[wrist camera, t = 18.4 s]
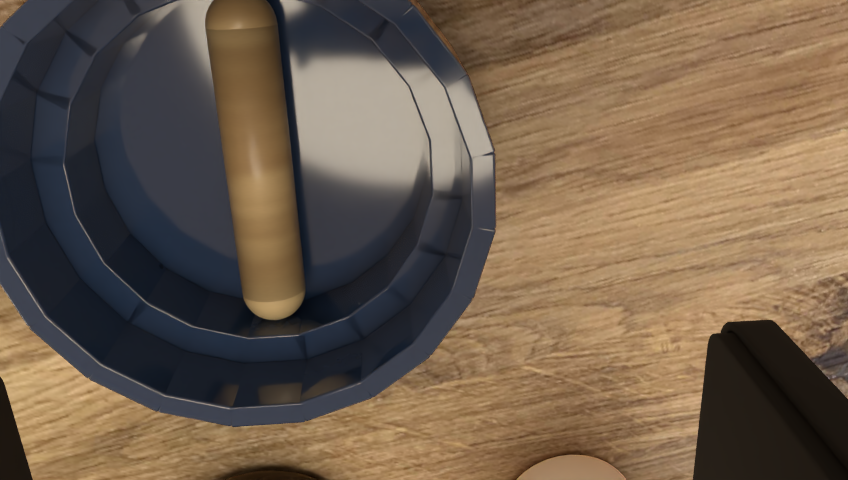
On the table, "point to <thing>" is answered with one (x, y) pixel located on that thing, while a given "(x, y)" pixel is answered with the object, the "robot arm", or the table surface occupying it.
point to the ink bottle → (271, 476)
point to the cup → (572, 469)
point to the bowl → (210, 207)
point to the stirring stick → (257, 154)
